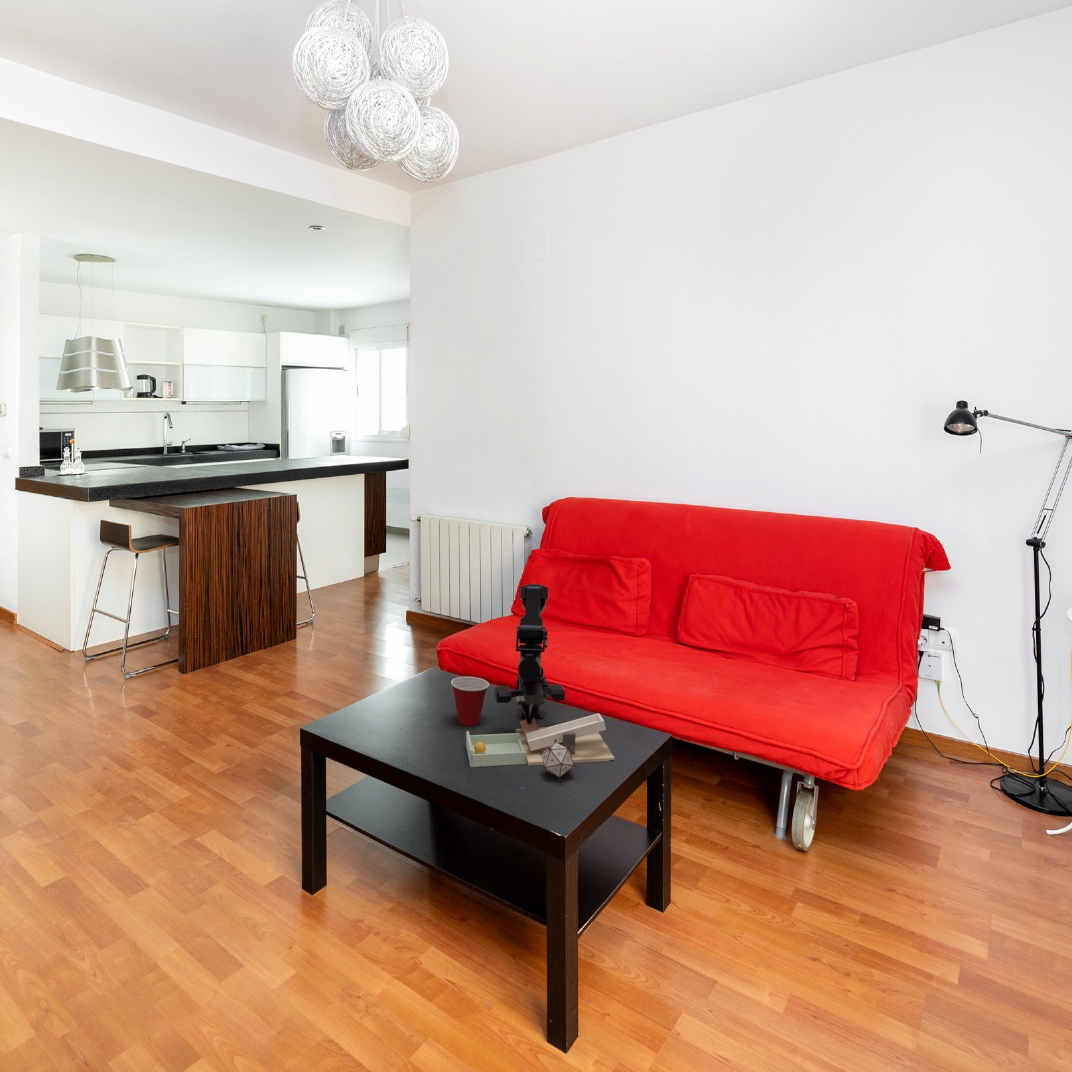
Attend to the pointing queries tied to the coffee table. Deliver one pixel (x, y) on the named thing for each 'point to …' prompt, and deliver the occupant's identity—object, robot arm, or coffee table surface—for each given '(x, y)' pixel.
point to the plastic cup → (469, 698)
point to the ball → (480, 748)
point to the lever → (561, 730)
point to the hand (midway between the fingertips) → (529, 723)
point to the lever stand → (572, 748)
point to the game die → (557, 759)
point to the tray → (496, 750)
